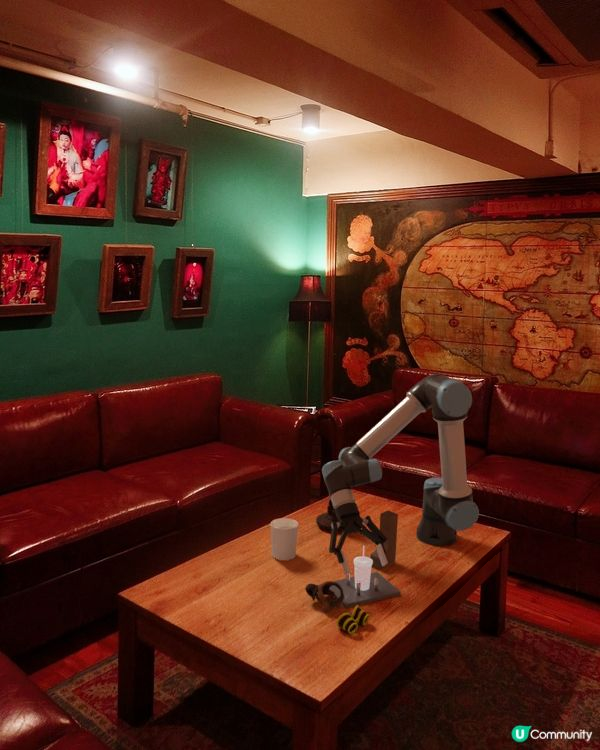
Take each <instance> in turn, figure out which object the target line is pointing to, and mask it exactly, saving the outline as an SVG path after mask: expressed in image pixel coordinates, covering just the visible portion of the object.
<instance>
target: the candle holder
mask: <svg viewBox="0 0 600 750" xmlns="http://www.w3.org/2000/svg"><path fill="white" fill-rule="evenodd" d="M298 531H299V522H298V521H297V520H295V519H293V518H288V517H287V518H286V517H284V518H282V517H281V518H276V519H272V521H271V522H270V541H271V542H270V543H271V556H272V558H273V557H274V558H273V559H275V558H276V559H275V560H277V559H278V560H277V561H281V560H287V561H291V560H294V558H296V556H297V555H296V554H297V544H298ZM290 559H291V560H290Z"/></svg>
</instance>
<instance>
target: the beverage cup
mask: <svg viewBox="0 0 600 750" xmlns="http://www.w3.org/2000/svg"><path fill="white" fill-rule="evenodd" d="M365 547H366V545H365V544H364V545H362V556H361V555H360V556H356V557H354V558H353V564H354V577H355V588H356V589H357V582H358V581H359V582H361V587H360V590H362V591H365V590H368V589H369V586H370V576H371V573H372V568H373V567H372V565H373V560H372V559H371V558H370V556H369V557H368V556H365Z"/></svg>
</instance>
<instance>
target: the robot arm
mask: <svg viewBox="0 0 600 750" xmlns="http://www.w3.org/2000/svg"><path fill="white" fill-rule="evenodd" d="M472 396H473V395H472V392H471V390H470V389H469V387H468V386H467V385H465V384H464V383H463V382H461V381H460V380H457V379H454V378H451V377H449V376H447V375H445V374H441V373H434V374H430V375H427V376H426V377H424V378H423V379H421V380H420V381H418V382H417V383H416V384H414V386H412V387H411V388H410V389H409V390H408V391H407V392H406V396H405V398H404V399H402V400H401V401H400V402H399V403H398V404H397V405H396V406H395V407H394V408H392V409H391V411H389V412H388V413H387V414H386V415H385V416H384V417H383V418H382V419H381V420H379V422H377V423H376V424H375V425H374V426H373V427H372V428H371V429H370V430H369V431H368V432H366V433H365V434H364V435H363V436H362V437H361V438H360V439H359V440H358V441H357V442H356V443H355V444H353V445H352V446H351V447H350V446H348V447H344V448H342V449H341V450H340V452H339V454H338V460H332V461H328V462H327V463H325V464H324V465H323V466H322V468H321V473H322V476H323V481H324V484H325V485H326V488H327V491H328V496H329V495H330V497H329V499H331V501H332V504H333V507H334V509H335V513H336V516H337V519H338V521H339V522H336V521H334V522H333V523H332V524H331V530H330V532H331V534H330V541H329V549H328V552H329V553H330V554H334V555H335V556H336V558H337V561H338V563H339V564H341V566H342V569H343V572H344V574H345V575H347V574H348V573H349V572H350V573H351V568H350V565H349V561H348V558H347V557H346V554H345V550H342V549H343V546H344V543H345V542H346V538H347V535H349V536H350V535H352V534H358V533H359V534H361V535H363V536H364V537H365V538H366V539H368V540H369V541H371V542H372V543H373V544H375V545H376V546H375V550H377V553H378V556H379V558H380V561H381V564H382V566H385V565H386V564H388V562H387V559H386V556H385V554H386V550H385V548H384V545H383V543H384V542H385V541H386V540H387V538H386V536H385V535H384V534H383V533H382V532H381V531H380V528H379V527H378V526H377V525H376V524H375V523H374V522H373V520H372V518H371V516H370V515H366V516H365V517H361V514H360V510H359V507H358V504H357V503H356V499H355V495H354V493H353V490H352V488H354V487H358V486H361V485H363V486H364V485H366V484H370V483H374V482H377V481H380V480H381V479H382V476H383V470H382V465H381V464H380V462H379V460H378V459H377V458H373V457H374V456H375V455H376V454H377V453H378V452H379V451H380V450H381V449H382V448H383V447H385V446H386V445H387V444H388V443H389V442H390V441H391V440H392V439H393V438H395V437H396V435H398V434H399V433H401V431H402V430H403V429H404V428H406V426H408V424H409V423H411V422H412V421H413V420H414V419H416V417H417V416H418V415H420V414H421V413H426V412H427V411H428V410H429V409H431V408H432V409H431V410H432V419H433V420H434V421H435V422H437V430H438V444H439V445H438V446H439V456H440V457H439V458H440V469H441V471H440V472H441V477H431V478H428V479H426V480H425V481H424V484H423V496H422V510H421V511H422V513H421V514H422V515H421V518H420V521H419V522H418V523H419V524H418V526H417V527H416V533H415V535H416V538H417V539H418V540H419V541H421V542H423V543H425V544H428V545H433V546H438V547H439V546H443V547H445V546H451V545H453V544H455V543H456V542H457V539H458V533H457V531H461V532H462V531H466V530H469V529H470V528H472V527H473V526H474V525H475V523H477V522H478V518H479V516H480V510H479V508H478V507H479V506H477V503H475V502H474V501H473V489H472V487H470V486H469V485H468V479H467V478H468V476H467V461H466V460H467V459H466V445H465V444H466V443H465V432H464V431H465V429H464V421H465V420H466V419H467V418H468V412H469V409H471V406H472V405H473V404H472V403H473V397H472ZM339 527H340V528H341V529H342V530H341V531H342V532H341V534H340V537H339V540H338V543H337V538H338V531H339V530H338V528H339Z"/></svg>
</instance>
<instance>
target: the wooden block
mask: <svg viewBox="0 0 600 750" xmlns="http://www.w3.org/2000/svg"><path fill="white" fill-rule="evenodd" d="M379 515H380V516H379V517H380V518H379V530H380V531H381V532H382V533H383V534H384V535H385V536H386V538H387V540H386V541H385V542H384V543H383V545H384V548H385V550H386V554H385V556H386V559H387V562H388V564H386V565H385V566H382V564H381V561H380V558H379V556H378V553H377V550H376V549H375V550H374V551H372V553H370V556H369V558H371V559H372V560H373V565H372V567H371V568H373V569H376V570H377V571H381V570H382V569H384V568H387V567H389V566H391V565H392V564H395V563H396V559H397V558H396V556H397V555H396V553H397V540H398V539H397V537H398V536H397V535H398V523H399V522H398V521H399V520H398V519H399V514H398V513H396V512H393V511H391V510H386V511H383V512H380V514H379Z"/></svg>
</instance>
